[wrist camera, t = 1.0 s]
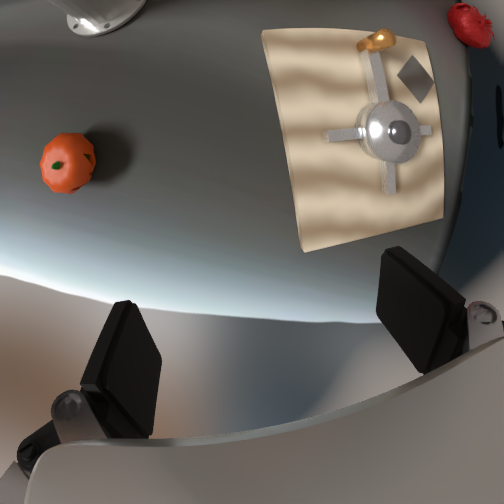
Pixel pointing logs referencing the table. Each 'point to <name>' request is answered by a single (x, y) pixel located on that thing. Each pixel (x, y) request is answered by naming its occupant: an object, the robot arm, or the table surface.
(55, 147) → the pumpkin
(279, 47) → the wooden board
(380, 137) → the cylinder
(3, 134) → the table surface
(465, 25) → the pomegranate
